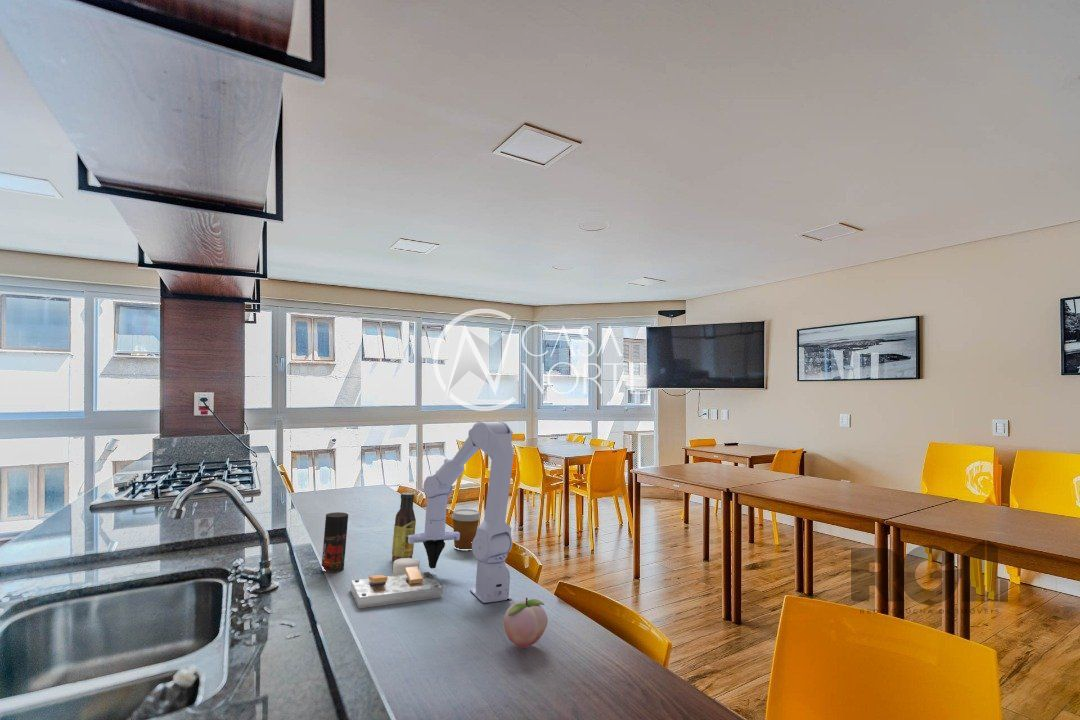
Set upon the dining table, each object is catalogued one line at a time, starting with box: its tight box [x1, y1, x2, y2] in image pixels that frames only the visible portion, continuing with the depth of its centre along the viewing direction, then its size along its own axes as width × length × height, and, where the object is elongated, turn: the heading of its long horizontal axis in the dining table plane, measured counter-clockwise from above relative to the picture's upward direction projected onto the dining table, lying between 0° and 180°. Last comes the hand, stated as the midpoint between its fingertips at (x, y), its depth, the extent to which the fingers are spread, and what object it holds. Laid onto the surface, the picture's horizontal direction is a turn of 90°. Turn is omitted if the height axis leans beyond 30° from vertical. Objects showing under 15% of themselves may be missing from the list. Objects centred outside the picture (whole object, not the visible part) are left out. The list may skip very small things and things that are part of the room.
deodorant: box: [321, 511, 349, 574], centre depth 147 cm, size 6×6×15 cm
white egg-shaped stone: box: [392, 557, 421, 576], centre depth 144 cm, size 7×7×4 cm
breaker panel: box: [350, 571, 443, 609], centre depth 131 cm, size 12×20×3 cm, turn 119°
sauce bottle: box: [391, 492, 417, 562], centre depth 158 cm, size 6×6×20 cm
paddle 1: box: [368, 574, 387, 583], centre depth 130 cm, size 6×3×1 cm, turn 30°
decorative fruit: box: [503, 597, 548, 649], centre depth 107 cm, size 9×8×10 cm
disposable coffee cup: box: [451, 508, 481, 549], centre depth 174 cm, size 10×10×12 cm
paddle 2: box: [405, 566, 423, 584], centre depth 134 cm, size 6×3×1 cm, turn 28°
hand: (432, 567), depth 148 cm, fingers closed
